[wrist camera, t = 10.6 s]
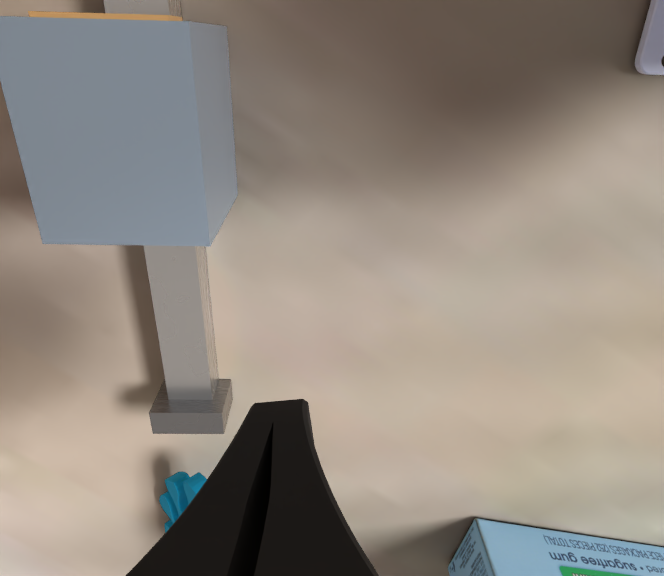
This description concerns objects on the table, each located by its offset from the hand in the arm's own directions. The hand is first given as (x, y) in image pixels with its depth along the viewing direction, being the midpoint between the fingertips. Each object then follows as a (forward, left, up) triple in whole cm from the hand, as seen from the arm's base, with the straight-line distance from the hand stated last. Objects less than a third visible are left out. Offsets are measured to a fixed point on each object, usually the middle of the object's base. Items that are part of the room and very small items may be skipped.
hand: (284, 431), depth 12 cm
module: (+5, -6, -10) cm, 13 cm away
